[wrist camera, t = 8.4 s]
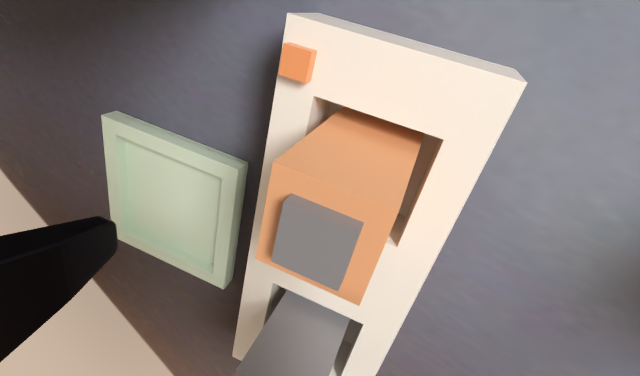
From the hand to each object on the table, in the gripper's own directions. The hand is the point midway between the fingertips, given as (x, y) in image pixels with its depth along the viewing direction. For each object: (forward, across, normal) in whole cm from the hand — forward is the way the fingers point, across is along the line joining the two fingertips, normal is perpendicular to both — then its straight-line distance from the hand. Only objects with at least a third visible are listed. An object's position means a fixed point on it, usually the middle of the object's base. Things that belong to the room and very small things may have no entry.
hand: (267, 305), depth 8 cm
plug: (+11, 0, 0) cm, 11 cm away
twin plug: (+11, 0, +11) cm, 16 cm away
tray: (+12, +12, +9) cm, 19 cm away
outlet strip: (+12, 0, +6) cm, 13 cm away
